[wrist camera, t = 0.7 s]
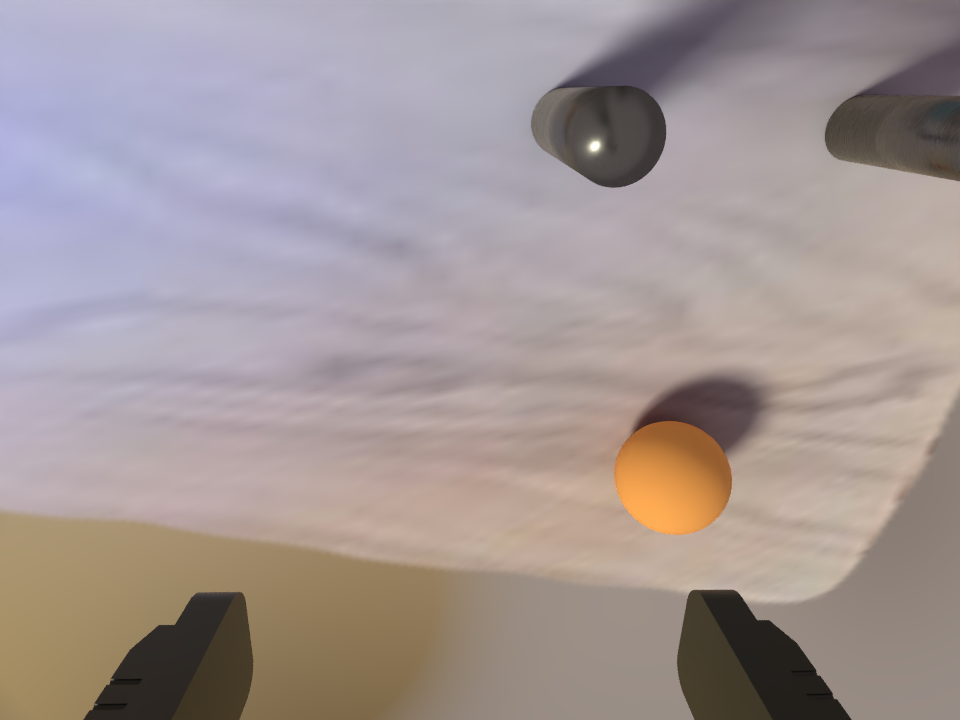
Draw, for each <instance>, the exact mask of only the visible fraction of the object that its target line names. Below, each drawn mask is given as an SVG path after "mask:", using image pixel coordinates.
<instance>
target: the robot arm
mask: <svg viewBox="0 0 960 720" xmlns="http://www.w3.org/2000/svg"><path fill="white" fill-rule="evenodd" d="M677 666H678V674H679V680H680V684H681V688H682V691H683V694H684V696H685V698H686V701H687V703H688V705H689V708H690V710H691V712H692V715H693V717H694V719H695V720H851V718H850V717H849V715H848V714H847V713H846V711H845V710H844V709H843V707H842V706H841V704H840V703H839V702H838V700H837V699H834V698H833V693H832V692H831V690H830V689H829V688H828V686H827V685H826V683H825V682H824V680H823V679H822V678H821V676H817V673H816V669H815V668H814V666H813V665H812V664H811V662H810V661H809V660H808V658H807V657H806V655H805V654H804V653H803V651H802V650H801V648H800V647H799V646H798V644H797V643H796V642H795V641H794V640H792V639H791V638H790V637H789V636H787V635H786V634H785V633H784V632H783V631H781V630H780V629H779V628H778V627H776V626H775V625H774V624H773V623H772V622H771V621H769V620H759V621H758V620H757V619H756V618H755V616H754V615H753V614H752V612H751V611H750V609H749V607H748V606H747V604H746V603H745V601H744V600H743V598H742V597H741V596H740V594H739V593H738V592H736V591H735V590H692V591H691V592H690V593H689V596H688V599H687V605H686V610H685V616H684V622H683V627H682V633H681V639H680V644H679V649H678V658H677ZM252 674H253V655H252V648H251V640H250V631H249V624H248V616H247V609H246V602H245V597H244V595H243V594H242V593H241V592H222V593H221V592H214V593H213V592H211V593H210V592H209V593H196V594H195V595H194V596H193V597H192V598H191V599H190V601H189V603H188V604H187V606H186V607H185V609H184V611H183V612H182V614H181V616H180V617H179V619H178V621H177V622H176V624H175V625H159V626H158V627H156V628H155V629H154V630H153V631H152V632H150V633H149V634H148V635H147V636H146V637H145V638H143V639H142V640H141V641H140V642H139V643H137V644H136V645H135V646H134V647H133V648H132V649H130V651H129V652H128V654H127V655H126V657H125V658H124V660H123V661H122V663H121V664H120V666H119V667H118V669H117V670H116V672H115V673H114V675H113V676H112V678H111V681H110V684H109V685H106V687H105V688H104V690H103V691H102V693H101V694H100V696H99V697H98V699H97V700H96V702H95V703H94V708H93V710H90V711H89V712H88V714H87V715H86V717H85V718H84V720H239V719H240V716H241V714H242V711H243V708H244V706H245V703H246V701H247V698H248V694H249V691H250V687H251V681H252Z"/></svg>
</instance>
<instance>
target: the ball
mask: <svg viewBox="0 0 960 720" xmlns="http://www.w3.org/2000/svg"><path fill="white" fill-rule="evenodd" d="M614 475H615V485H616V489H617V492H618V495H619V497H620V499H621V501H622V503H623V505H624V506H625V508H626V509H627V511H628V512H629V513H630V514H631V515H632V516H633V517H634V518H635V519H636V520H637V521H639V522H640V523H641V524H643V525H645V526H647V527H648V528H650V529H652V530H655V531H658V532H661V533H665V534H676V535H680V534H689V533H693V532H696V531H699V530H701V529H703V528H705V527H707V526H708V525H710V524H711V523H712V522H714V521H715V520H716V519H717V518H718V517H719V515H720V514H721V513H722V511H723V510H724V508H725V507H726V505H727V503H728V500H729V497H730V494H731V488H732V476H731V469H730V466H729V463H728V460H727V457H726V455H725V454H724V452H723V450H722V449H721V447H720V446H719V445H718V443H717V442H716V441H715V440H714V439H713V438H712V437H711V436H710V435H708V434H707V433H705V432H704V431H702V430H701V429H699V428H697V427H695V426H692V425H690V424H687V423H682V422H677V421H662V422H656V423H653V424H649V425H647V426H645V427H643V428H641V429H639V430H638V431H636V432H635V433H634V434H633V435H631V436H630V437H629V438H628V440H627V441H626V442H625V443H624V445H623V446H622V448H621V450H620V452H619V454H618V457H617V459H616V464H615V473H614Z"/></svg>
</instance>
